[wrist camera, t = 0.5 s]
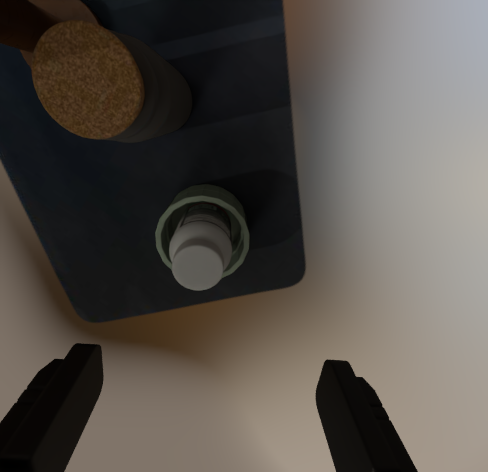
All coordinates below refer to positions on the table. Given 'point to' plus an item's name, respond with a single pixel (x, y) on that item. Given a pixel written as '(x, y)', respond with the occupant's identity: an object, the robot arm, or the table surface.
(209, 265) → the pill bottle
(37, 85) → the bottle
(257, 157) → the table surface
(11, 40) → the stand
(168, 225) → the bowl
